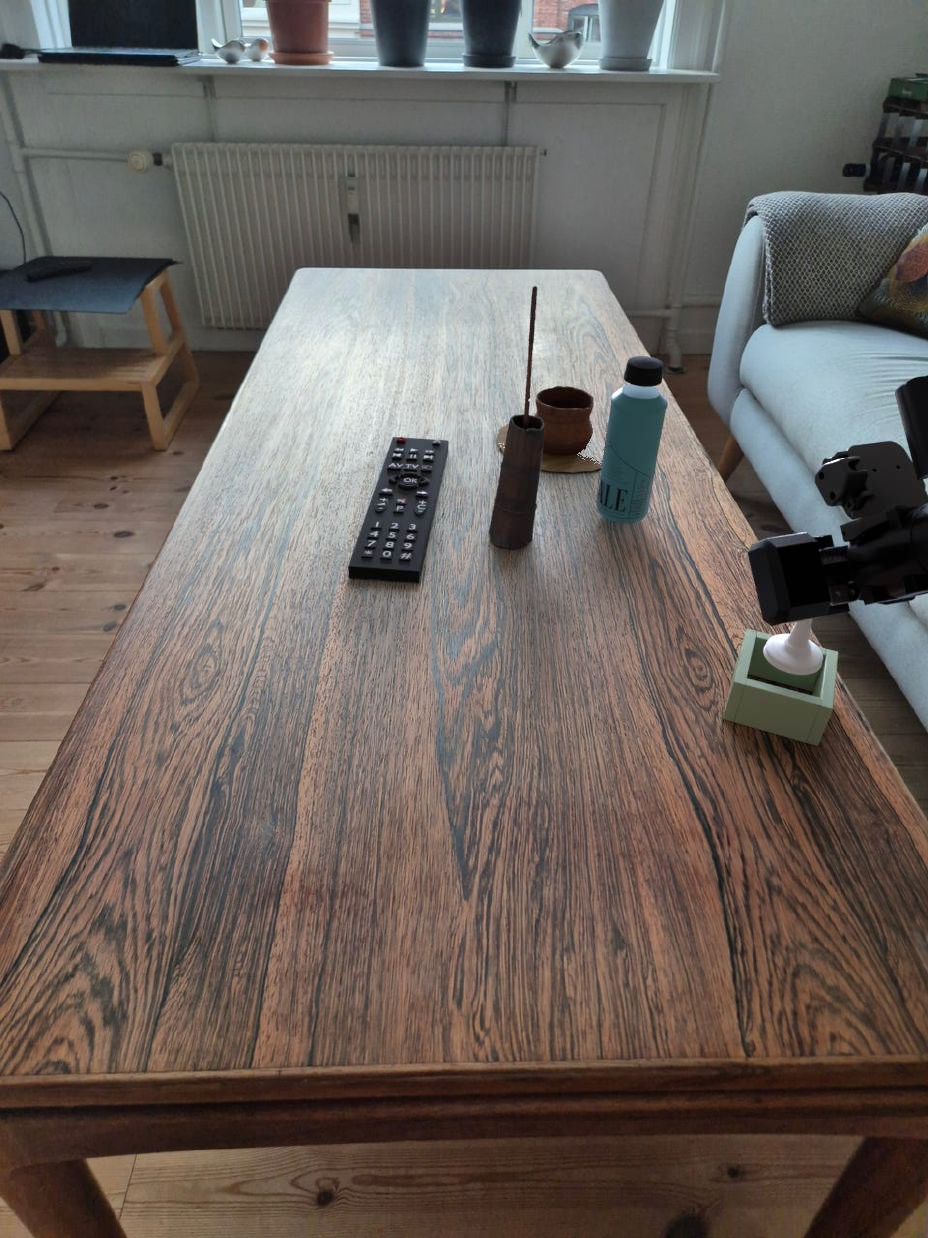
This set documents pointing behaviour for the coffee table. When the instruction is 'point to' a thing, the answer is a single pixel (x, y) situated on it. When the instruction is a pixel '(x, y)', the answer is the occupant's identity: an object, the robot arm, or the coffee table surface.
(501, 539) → the butter churn
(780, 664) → the chess piece
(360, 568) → the remote control
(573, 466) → the ceramic pot
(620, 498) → the beverage bottle
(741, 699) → the open green box
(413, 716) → the coffee table surface
